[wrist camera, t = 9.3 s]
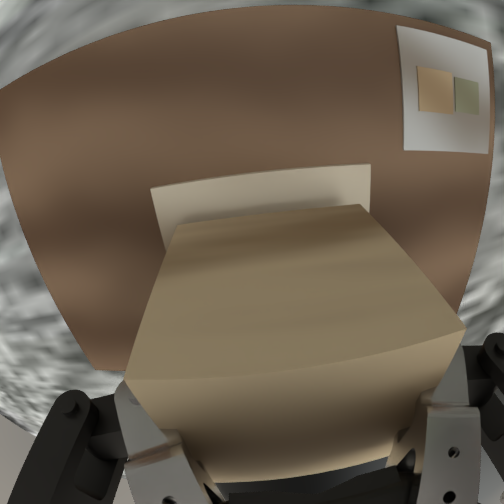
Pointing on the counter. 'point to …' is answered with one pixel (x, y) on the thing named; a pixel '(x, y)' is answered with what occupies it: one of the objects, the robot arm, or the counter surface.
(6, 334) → the counter surface
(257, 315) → the maple block
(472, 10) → the counter surface
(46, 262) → the baseplate
